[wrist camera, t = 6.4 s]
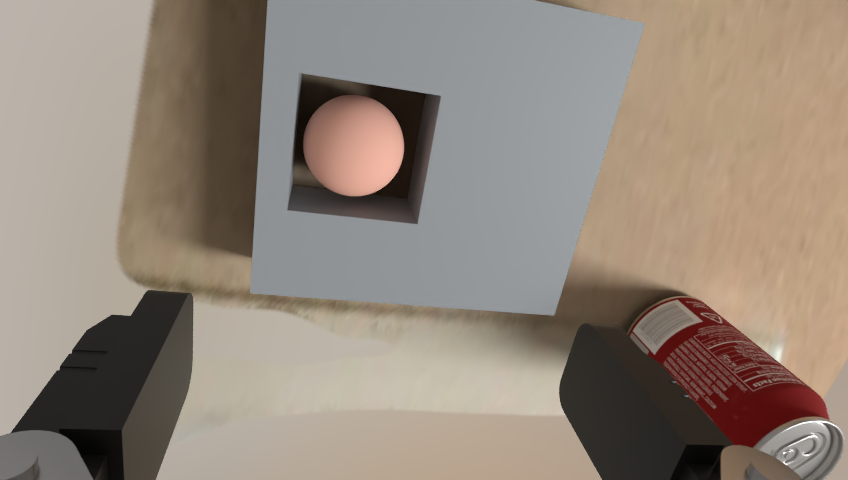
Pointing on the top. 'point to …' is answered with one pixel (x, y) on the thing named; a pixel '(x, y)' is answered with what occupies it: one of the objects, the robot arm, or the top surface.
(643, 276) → the top surface
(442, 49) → the grey block with recess
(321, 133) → the ball
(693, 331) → the soda can
